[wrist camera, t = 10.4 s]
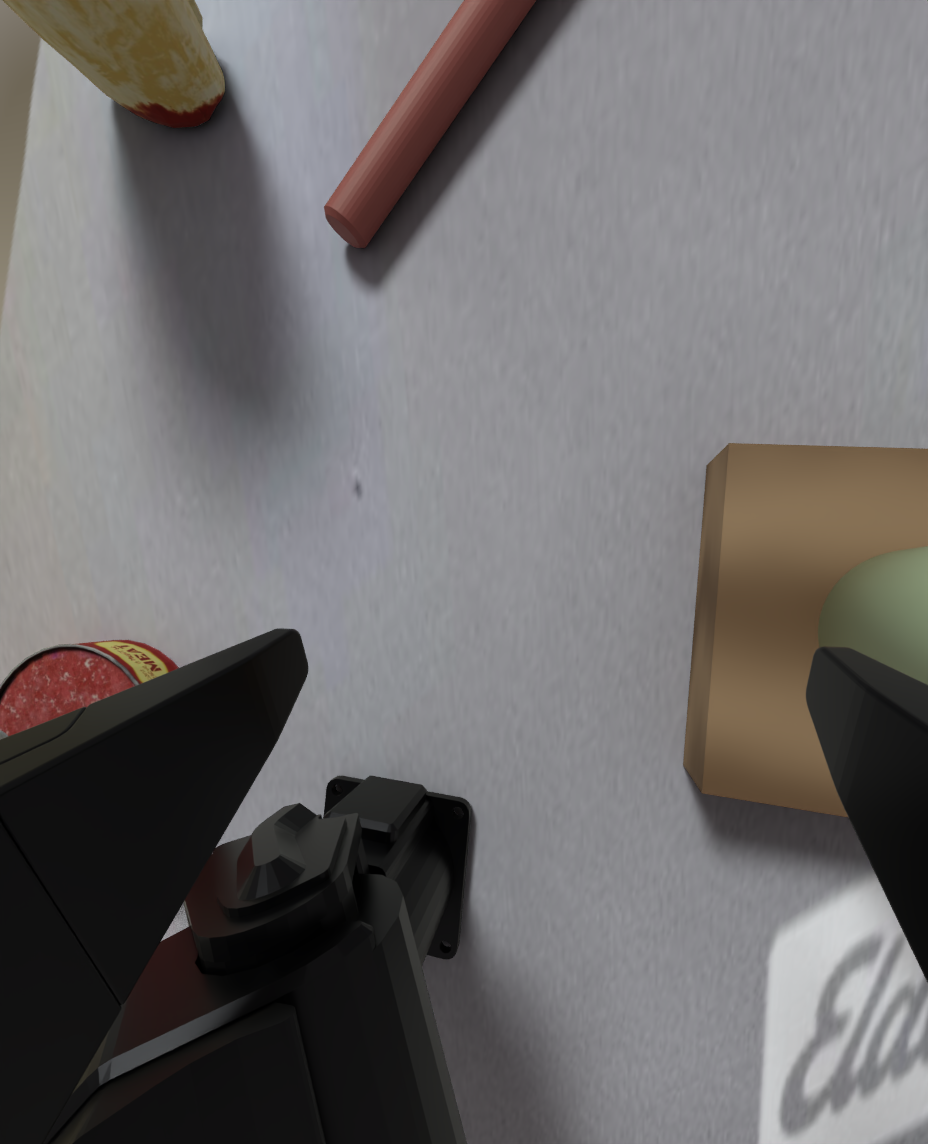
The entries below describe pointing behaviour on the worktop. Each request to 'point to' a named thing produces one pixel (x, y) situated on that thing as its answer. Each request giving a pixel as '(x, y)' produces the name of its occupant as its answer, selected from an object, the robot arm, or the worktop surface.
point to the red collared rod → (421, 116)
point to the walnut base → (783, 604)
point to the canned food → (74, 679)
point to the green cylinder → (882, 611)
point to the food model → (135, 53)
